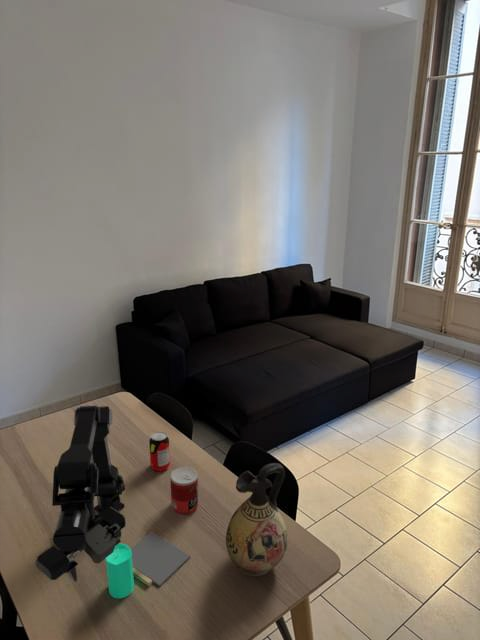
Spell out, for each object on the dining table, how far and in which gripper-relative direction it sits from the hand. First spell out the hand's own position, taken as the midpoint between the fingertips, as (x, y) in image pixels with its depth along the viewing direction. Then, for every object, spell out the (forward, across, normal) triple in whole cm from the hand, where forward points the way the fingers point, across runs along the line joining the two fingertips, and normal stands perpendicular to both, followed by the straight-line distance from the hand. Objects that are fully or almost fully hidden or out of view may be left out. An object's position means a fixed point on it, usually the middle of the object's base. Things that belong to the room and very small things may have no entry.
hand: (86, 571), depth 104 cm
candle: (+13, +9, 0) cm, 16 cm away
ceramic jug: (+13, +35, -22) cm, 43 cm away
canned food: (+13, +39, +7) cm, 42 cm away
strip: (+13, +14, 0) cm, 19 cm away
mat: (+13, +20, 0) cm, 24 cm away
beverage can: (+13, +48, +26) cm, 56 cm away
